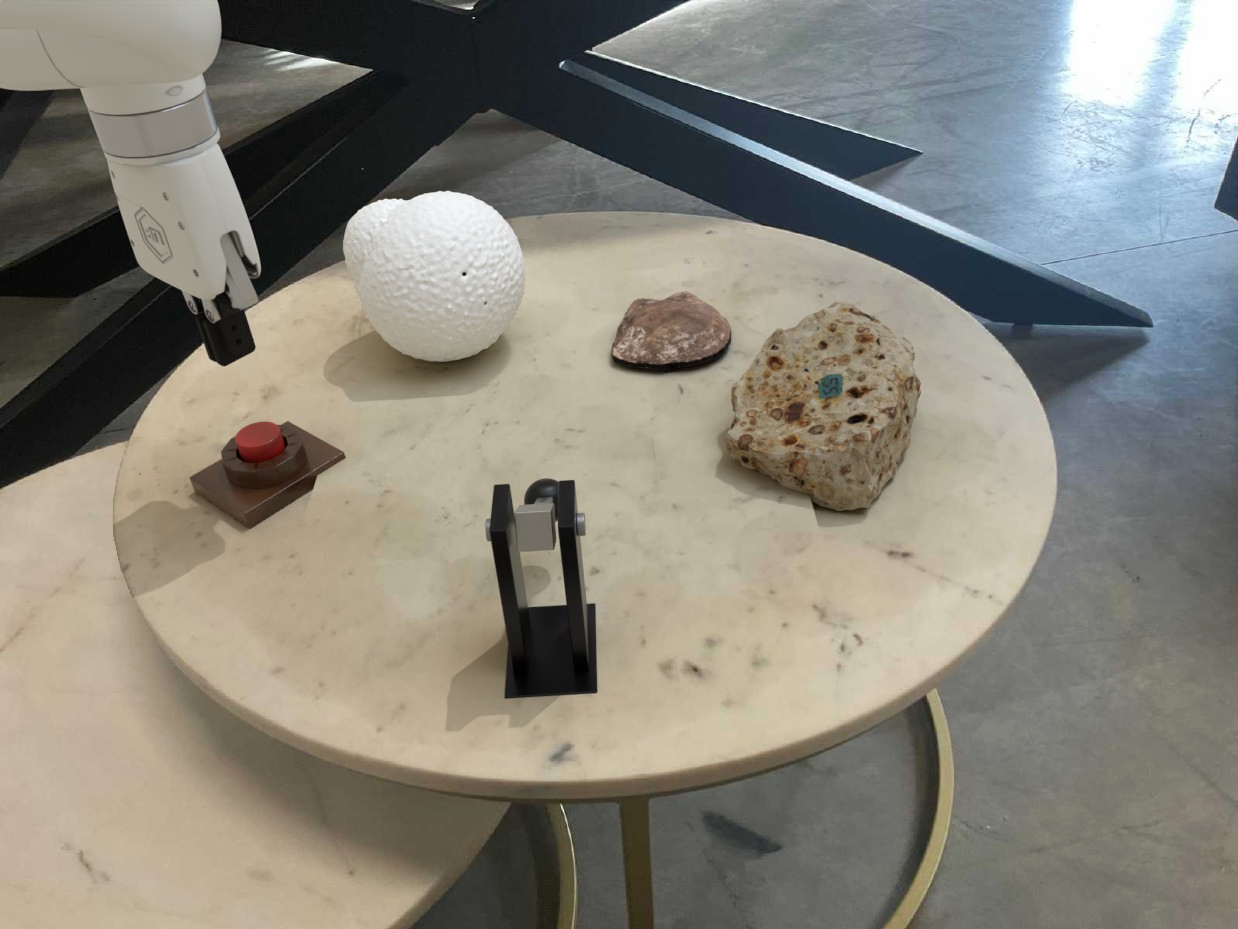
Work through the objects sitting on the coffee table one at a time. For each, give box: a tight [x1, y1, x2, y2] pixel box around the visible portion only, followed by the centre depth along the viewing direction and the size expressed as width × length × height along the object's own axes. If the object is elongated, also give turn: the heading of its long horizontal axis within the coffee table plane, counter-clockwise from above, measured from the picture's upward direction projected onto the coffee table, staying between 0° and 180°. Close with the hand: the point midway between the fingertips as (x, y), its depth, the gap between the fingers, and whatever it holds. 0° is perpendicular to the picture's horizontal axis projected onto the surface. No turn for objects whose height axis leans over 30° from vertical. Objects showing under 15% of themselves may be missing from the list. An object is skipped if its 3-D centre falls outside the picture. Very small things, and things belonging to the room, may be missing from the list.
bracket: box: [484, 479, 598, 700], centre depth 66 cm, size 8×6×14 cm
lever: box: [514, 477, 559, 553], centre depth 68 cm, size 13×3×3 cm
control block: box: [189, 420, 346, 530], centre depth 86 cm, size 10×8×4 cm
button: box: [234, 421, 285, 463], centre depth 85 cm, size 4×4×2 cm
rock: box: [723, 300, 922, 512], centre depth 87 cm, size 21×14×10 cm
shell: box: [611, 290, 732, 373], centre depth 101 cm, size 12×13×4 cm
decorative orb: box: [310, 168, 527, 363], centre depth 99 cm, size 20×18×16 cm
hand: (233, 355), depth 80 cm, fingers closed
